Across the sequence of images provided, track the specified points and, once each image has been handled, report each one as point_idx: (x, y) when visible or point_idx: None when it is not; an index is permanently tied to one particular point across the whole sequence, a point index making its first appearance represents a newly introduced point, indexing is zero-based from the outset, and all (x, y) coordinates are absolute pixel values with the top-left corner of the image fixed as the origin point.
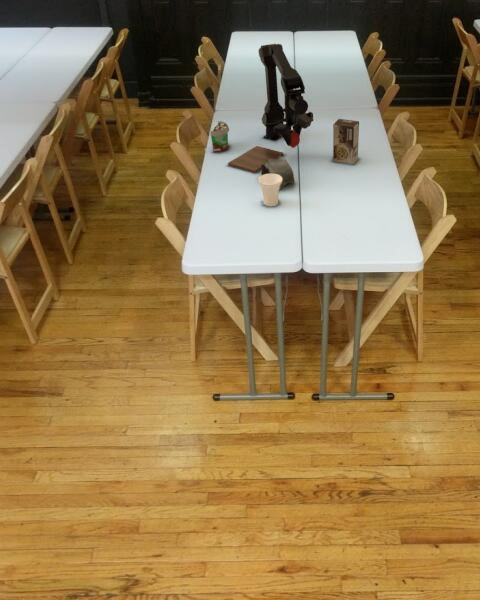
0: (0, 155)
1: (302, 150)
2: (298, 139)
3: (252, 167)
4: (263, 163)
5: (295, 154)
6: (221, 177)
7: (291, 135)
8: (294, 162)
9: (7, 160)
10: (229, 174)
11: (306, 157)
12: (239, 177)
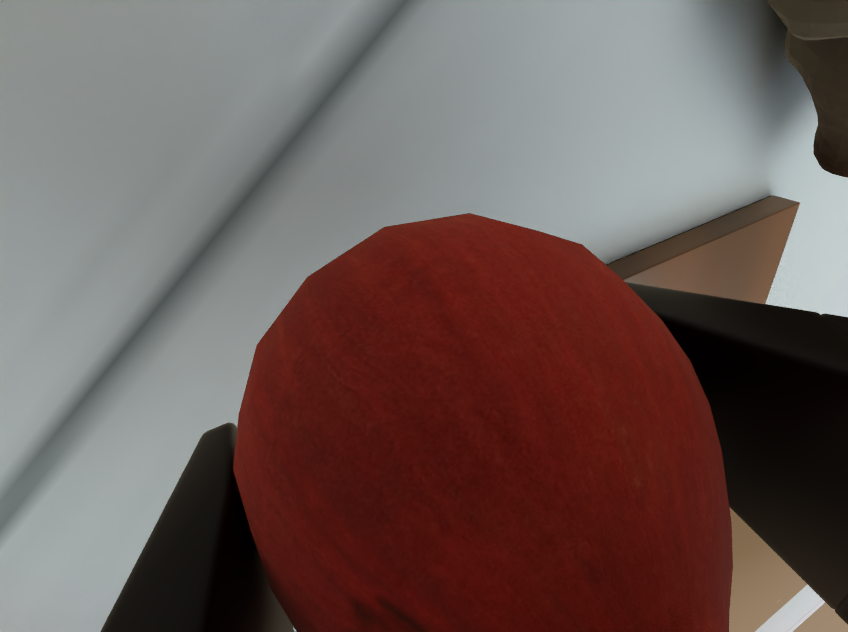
0: (765, 626)
1: (12, 367)
2: (464, 270)
3: (757, 267)
4: (676, 275)
5: (221, 306)
6: (838, 292)
7: (724, 479)
8: (420, 90)
9: (782, 607)
10: (803, 299)
11: (115, 79)
12: (836, 219)
